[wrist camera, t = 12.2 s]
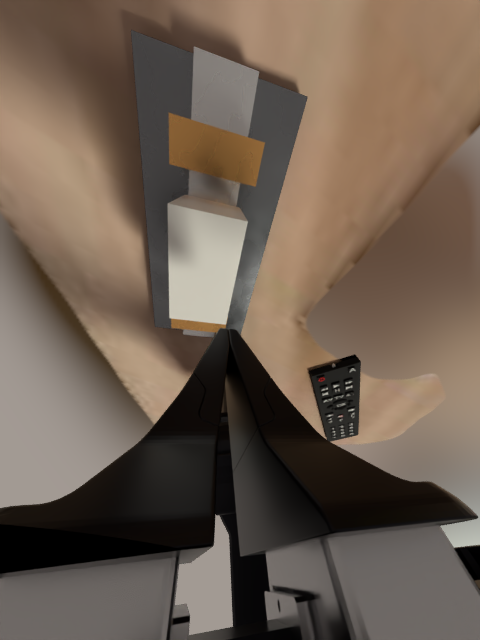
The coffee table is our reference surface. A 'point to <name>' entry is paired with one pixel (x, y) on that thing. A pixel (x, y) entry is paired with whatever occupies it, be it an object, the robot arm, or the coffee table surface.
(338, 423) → the remote control
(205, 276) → the plain light gray block
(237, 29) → the coffee table surface
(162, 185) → the rail mount
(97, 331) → the coffee table surface
